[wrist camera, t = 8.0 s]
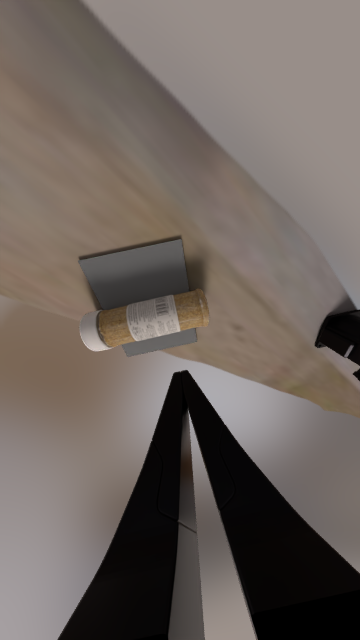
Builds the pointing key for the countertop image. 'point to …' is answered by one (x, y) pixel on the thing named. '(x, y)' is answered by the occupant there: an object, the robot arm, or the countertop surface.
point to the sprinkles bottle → (144, 320)
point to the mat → (141, 285)
